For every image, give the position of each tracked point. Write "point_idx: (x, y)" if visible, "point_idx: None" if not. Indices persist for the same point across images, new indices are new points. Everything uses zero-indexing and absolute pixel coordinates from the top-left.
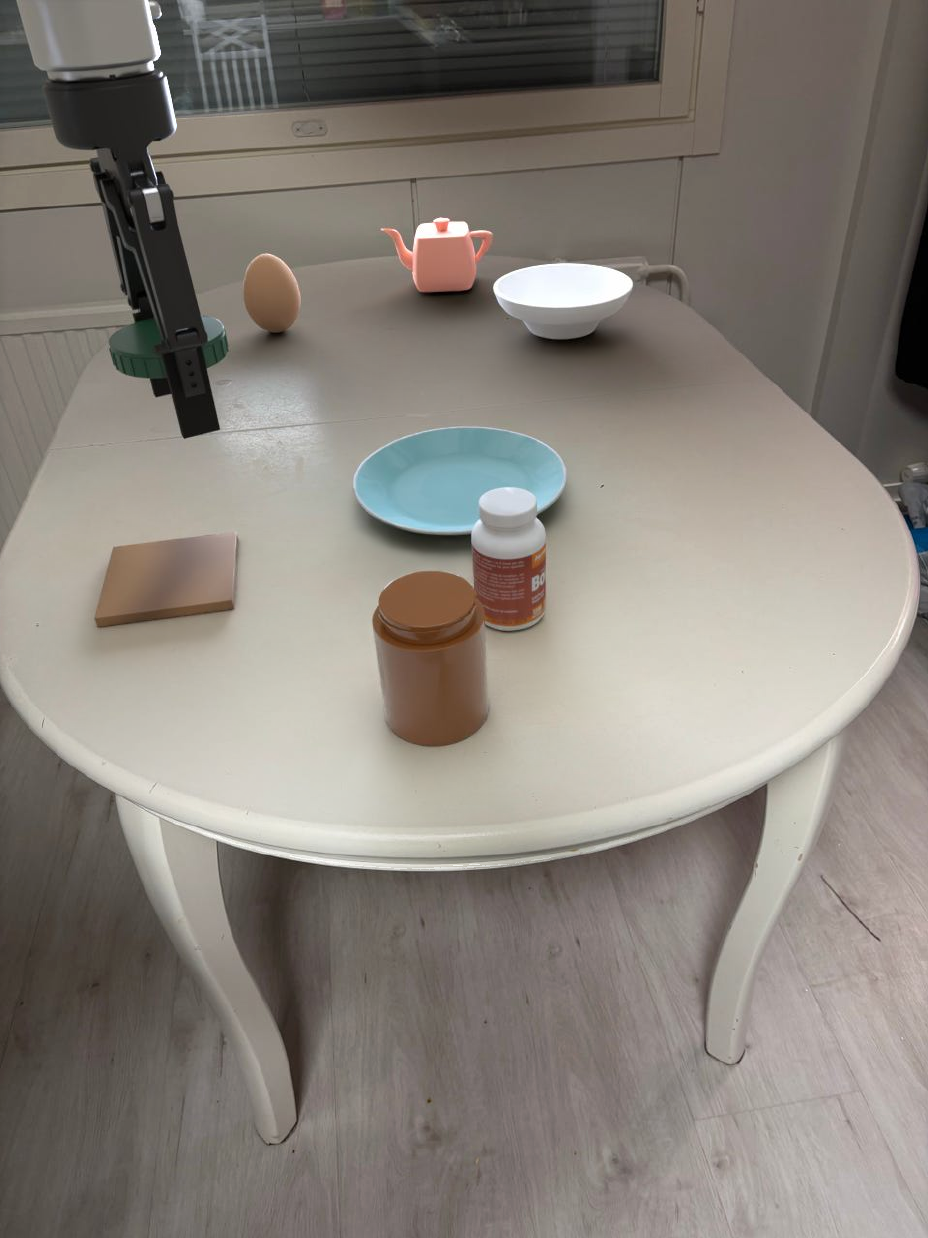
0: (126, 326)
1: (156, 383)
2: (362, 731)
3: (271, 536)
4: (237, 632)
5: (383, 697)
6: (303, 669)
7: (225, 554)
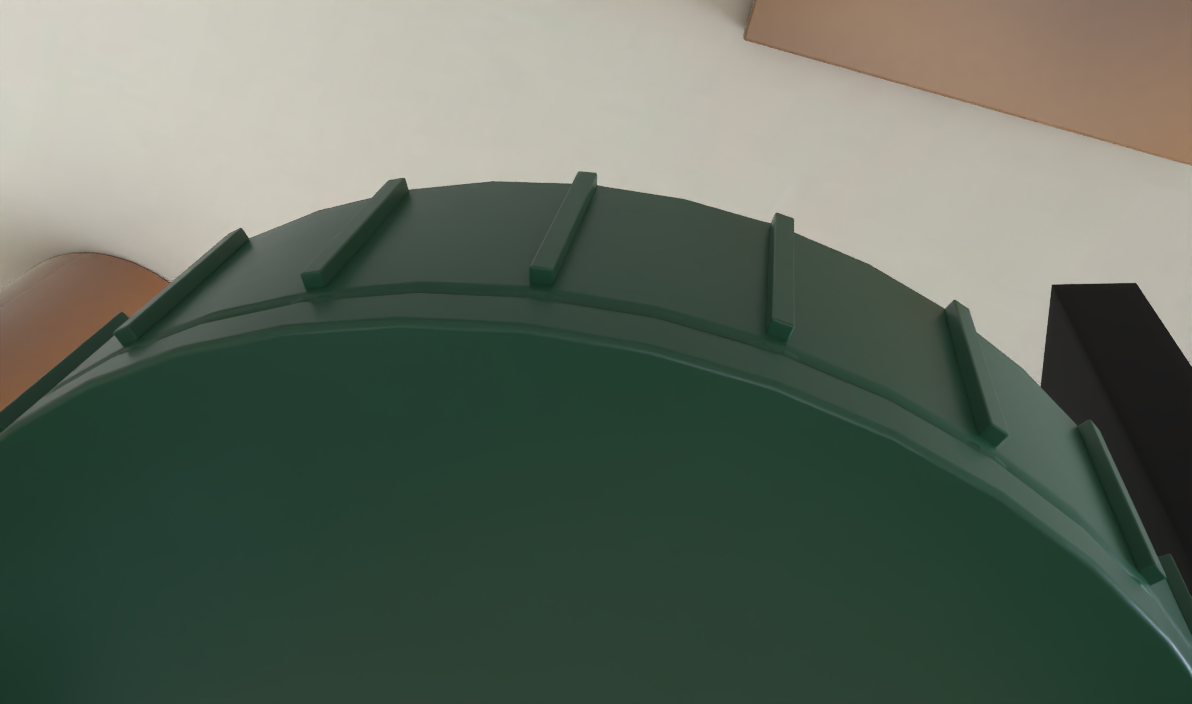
0: (1165, 685)
1: (1071, 369)
2: (84, 194)
3: (1126, 265)
4: (611, 9)
5: (51, 286)
6: (357, 140)
7: (1059, 89)
